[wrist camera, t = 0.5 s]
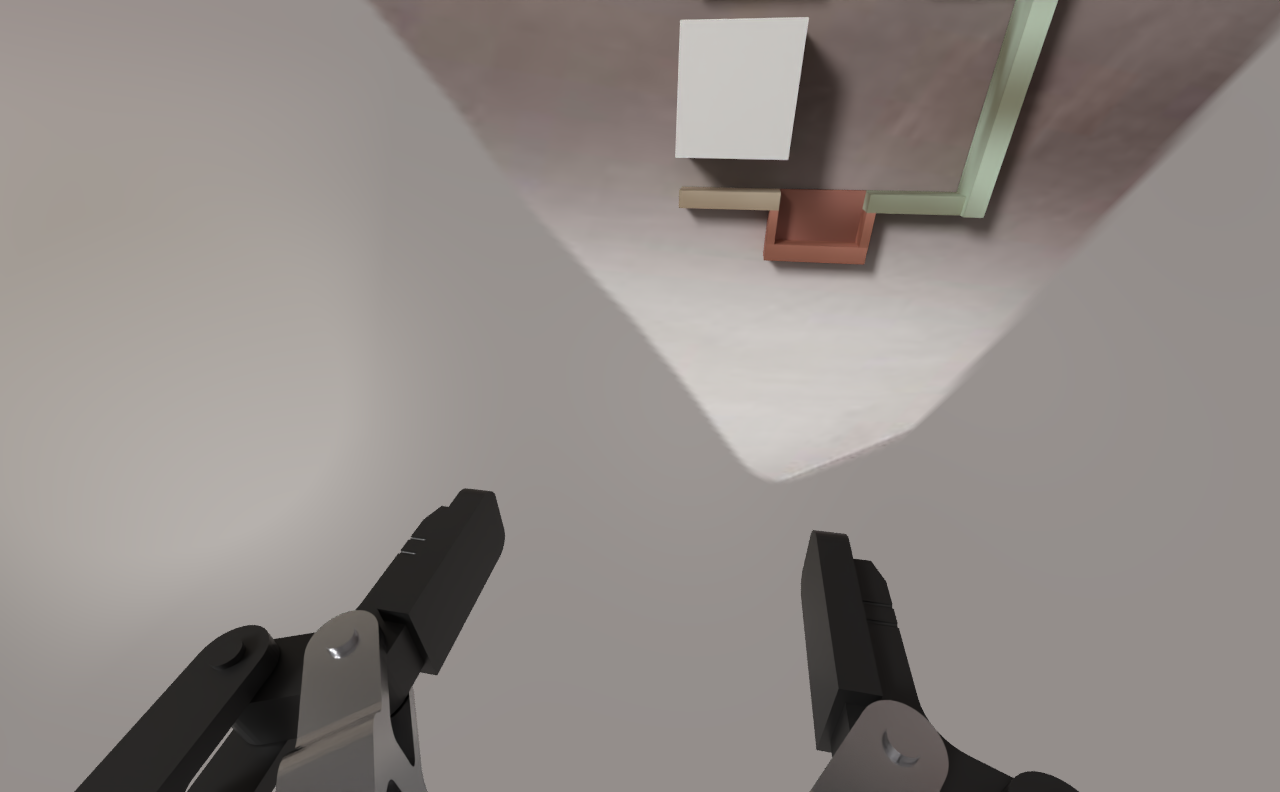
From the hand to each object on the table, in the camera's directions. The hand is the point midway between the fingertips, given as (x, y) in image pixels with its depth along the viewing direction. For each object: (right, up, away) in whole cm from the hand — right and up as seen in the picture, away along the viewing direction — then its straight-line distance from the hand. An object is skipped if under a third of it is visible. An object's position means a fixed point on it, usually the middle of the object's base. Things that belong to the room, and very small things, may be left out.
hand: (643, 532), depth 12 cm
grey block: (+6, +21, +16) cm, 27 cm away
